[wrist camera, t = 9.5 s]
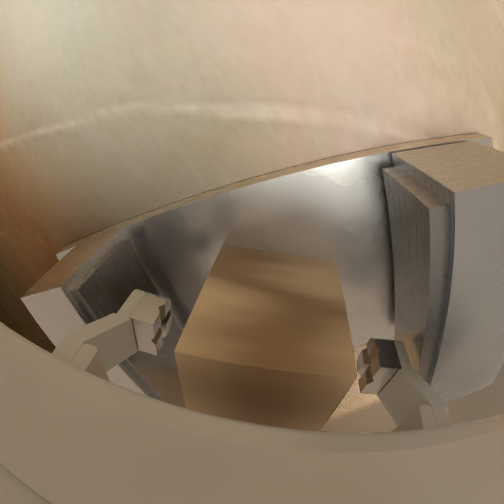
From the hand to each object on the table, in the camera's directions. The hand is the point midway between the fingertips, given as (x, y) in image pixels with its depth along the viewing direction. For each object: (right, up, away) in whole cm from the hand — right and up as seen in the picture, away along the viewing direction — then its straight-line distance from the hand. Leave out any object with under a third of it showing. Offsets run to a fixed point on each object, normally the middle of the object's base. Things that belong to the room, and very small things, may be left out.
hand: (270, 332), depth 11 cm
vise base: (0, +2, +4) cm, 4 cm away
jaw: (+8, +3, 0) cm, 8 cm away
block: (0, +1, +2) cm, 3 cm away
